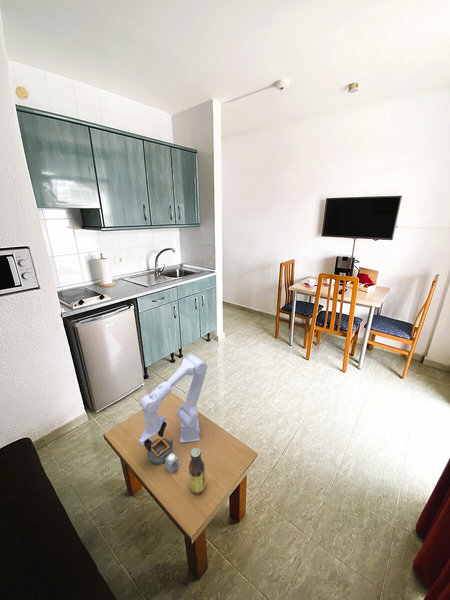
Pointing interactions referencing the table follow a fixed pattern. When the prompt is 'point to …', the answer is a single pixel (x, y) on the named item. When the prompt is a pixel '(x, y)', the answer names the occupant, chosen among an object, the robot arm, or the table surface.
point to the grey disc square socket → (160, 451)
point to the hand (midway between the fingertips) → (155, 442)
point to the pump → (172, 462)
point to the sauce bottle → (196, 472)
